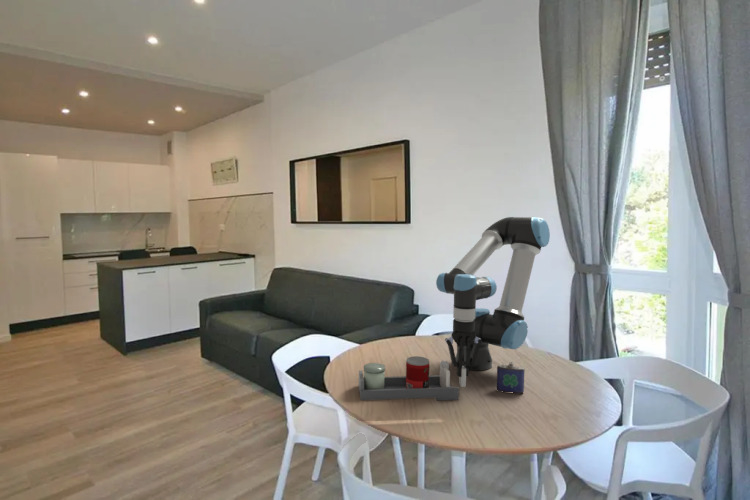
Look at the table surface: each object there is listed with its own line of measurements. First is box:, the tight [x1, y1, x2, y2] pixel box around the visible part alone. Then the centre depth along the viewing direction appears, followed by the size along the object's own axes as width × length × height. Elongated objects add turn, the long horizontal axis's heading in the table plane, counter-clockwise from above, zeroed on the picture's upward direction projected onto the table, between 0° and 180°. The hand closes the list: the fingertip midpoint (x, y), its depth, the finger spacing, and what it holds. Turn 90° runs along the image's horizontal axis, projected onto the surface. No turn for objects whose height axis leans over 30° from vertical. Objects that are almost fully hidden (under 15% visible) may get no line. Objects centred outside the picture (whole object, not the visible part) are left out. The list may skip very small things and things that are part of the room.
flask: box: [496, 361, 526, 394], centre depth 150 cm, size 9×3×11 cm, turn 74°
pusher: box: [439, 360, 451, 387], centre depth 149 cm, size 2×9×10 cm, turn 5°
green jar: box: [363, 362, 386, 390], centre depth 147 cm, size 7×7×9 cm
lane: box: [358, 369, 460, 401], centre depth 148 cm, size 33×12×7 cm, turn 95°
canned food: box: [405, 356, 430, 388], centre depth 148 cm, size 8×8×11 cm
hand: (462, 385), depth 150 cm, fingers closed
